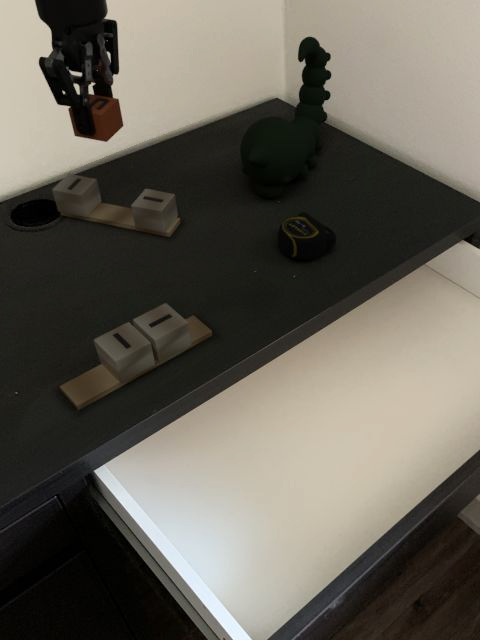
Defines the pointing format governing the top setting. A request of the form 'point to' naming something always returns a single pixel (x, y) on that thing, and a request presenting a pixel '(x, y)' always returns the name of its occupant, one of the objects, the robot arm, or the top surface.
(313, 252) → the tape measure
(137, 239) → the top surface
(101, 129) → the orange block
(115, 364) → the word
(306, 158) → the toy figurine
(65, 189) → the word
